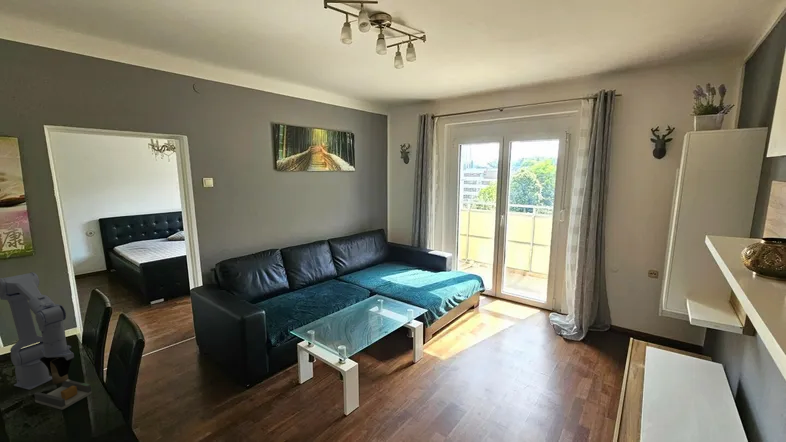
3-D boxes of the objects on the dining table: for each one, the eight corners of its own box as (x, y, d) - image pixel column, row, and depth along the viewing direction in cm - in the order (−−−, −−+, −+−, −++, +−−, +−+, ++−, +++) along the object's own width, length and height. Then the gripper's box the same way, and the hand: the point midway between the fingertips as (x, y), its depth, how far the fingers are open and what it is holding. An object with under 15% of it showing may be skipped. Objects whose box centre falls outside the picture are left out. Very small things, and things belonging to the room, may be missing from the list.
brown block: (49, 382, 119) (47, 362, 118) (63, 376, 123) (60, 356, 121) (57, 384, 118) (54, 364, 117) (70, 378, 121) (68, 358, 120)
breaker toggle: (61, 399, 118) (60, 391, 118) (73, 392, 122) (72, 385, 121) (65, 400, 118) (64, 392, 118) (77, 393, 121) (76, 386, 121)
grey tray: (35, 402, 118) (33, 393, 118) (65, 387, 127) (64, 378, 127) (62, 409, 115) (60, 400, 114) (91, 393, 123) (90, 384, 123)
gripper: (81, 337, 120) (86, 371, 122) (54, 331, 124) (59, 365, 125) (57, 346, 113) (63, 382, 115) (29, 340, 117) (35, 375, 119)
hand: (59, 374), depth 120 cm, fingers closed on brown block, 4 cm apart
